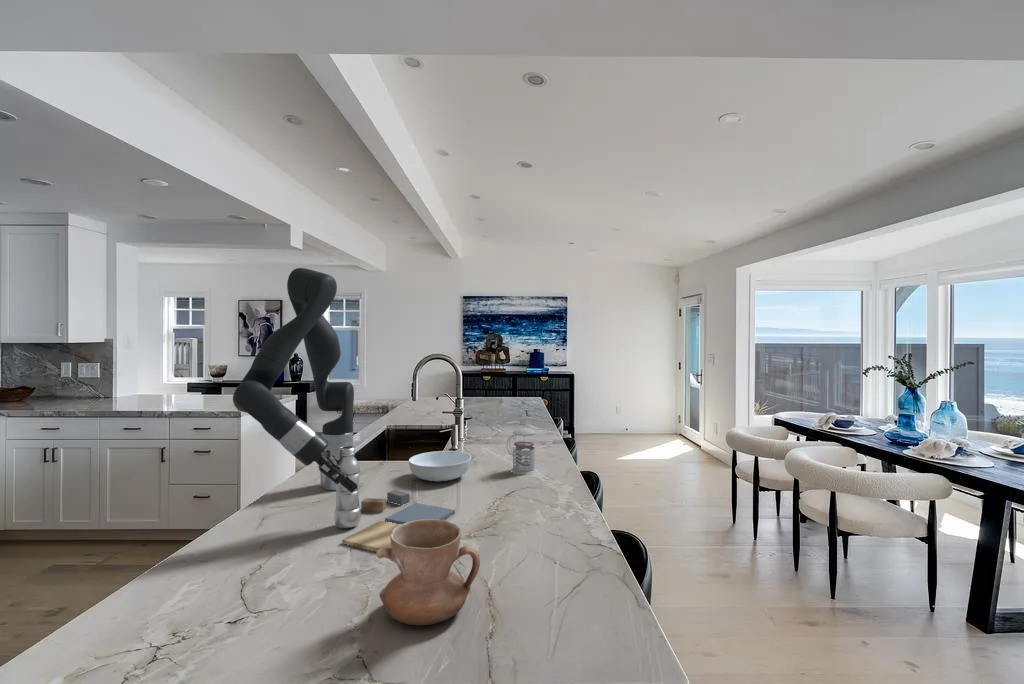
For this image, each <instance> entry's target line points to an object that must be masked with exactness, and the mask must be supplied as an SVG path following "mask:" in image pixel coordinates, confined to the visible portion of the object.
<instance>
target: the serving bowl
mask: <svg viewBox="0 0 1024 684" xmlns="http://www.w3.org/2000/svg"><path fill="white" fill-rule="evenodd" d="M471 464H472V456H471V455H470V454H469V453H467V452H464V451H463V452H462V451H456V450H438V451H430V452H429V451H428V452H422V453H419V454H415V455H413V456H411V457H410V458H409V459H408V465H409V469H410V471H411V472H412V474H413V475H414V476H416V477H417V478H418V479H420V480H424V481H429V482H433V481H434V482H435V483H442V481H444V482H449V481H452V480H455V479H458V478H460V477H462V476H463V475H465V474H466V473H467V472H468V470H469V469H470V467H471ZM448 480H449V481H448Z"/></svg>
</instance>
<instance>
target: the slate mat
mask: <svg viewBox="0 0 1024 684" xmlns="http://www.w3.org/2000/svg"><path fill="white" fill-rule="evenodd" d="M454 513H455V514H456V509H451V508H446V507H441V506H440V507H439V506H435V505H430V504H424V503H417V502H415V503H413V504H410V505H409V506H407V507H405V508H403V509H401V510H398V511H397V512H394V513H393V514H390V515H389V516H387V517H385V518H384V522H385V521H387V522H392V523H396V524H404V523H407V522H411V521H416V520H422V519H438V520H444V519H445V518H447V517H448V518H450V517H451V516H450V515H452V514H453V515H455V514H454ZM453 515H452V516H453ZM449 516H450V517H449ZM448 518H447V519H448ZM445 520H446V519H445ZM445 520H444V521H445Z"/></svg>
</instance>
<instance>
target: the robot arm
mask: <svg viewBox="0 0 1024 684" xmlns="http://www.w3.org/2000/svg"><path fill="white" fill-rule="evenodd" d="M337 285H338V284H337V281H336V279H335V278H334V276H331V275H330V274H328V273H324V272H321V271H316V270H315V269H314V270H313V269H311V268H310V269H309V268H305V267H299V268H298V267H297V268H295V269H293V270H292V271H291V272H290V273H289V275H288V278H287V285H286V287H287V288H286V289H287V295H288V298H289V300H290V303H291V306H292V308H293V311H294V313H295V317H294V318H293V319H291V320H290V321H288V322H287V323H286V324H284V325H282V326H280V327H279V328H278V329H275V331H274V332H273V333H272V334H270V335H269V336H268V337H267V338H266V340H265V341H264V342H263V344H262V345H261V347H260V348H259V351H258V353H257V354H256V356H255V358H254V359H253V362H252V364H251V366H250V368H249V370H248V371H247V373H246V374H245V376H244V377H243V379H242V381H240V383H239V385H238V386H236V388H235V390H234V392H233V394H232V402H233V405H234V407H235V408H236V410H238V411H240V412H241V413H247V414H248V415H249V416H251V417H252V418H253V419H254V420H255V421H257V422H258V423H259V424H260V425H261V427H262V429H264V430H265V432H266V433H268V434H269V435H270V436H271V437H272V438H273V439H275V440H276V441H277V442H278V443H279V444H280V445H281V446H282V447H283V448H284V449H285V450H286V451H287V452H288V453H290V454H291V455H292V456H294V457H295V458H296V459H297V460H298V461H299V462H301V463H302V464H303V465H305V466H307V467H308V466H310V465H311V464H313V462H316V464H317V465H318V467H317V468H318V470H319V472H320V487H321V488H322V489H324V490H326V491H336V484H338V483H339V484H341V485H343V486H344V487H345V488H346V489H347V490H348V491H350V492H353V491H354V490H355V489H356V488H357V484H356V483H355V482H354V481H352V480H351V479H350V478H349V477H348V476H347V475H346V474H345V473H344V472H342V470H341V466H340V465H339V464H338V463H337V461H338V460H339V459H340V456H339V453H340V448H341V447H344V446H354V405H355V403H354V402H355V389H354V385H353V383H352V382H349V381H328V377H329V375H330V373H331V372H332V371H333V370H334V368H336V366H337V364H338V363H339V361H340V359H341V355H342V353H341V352H342V351H341V346H340V340H339V338H338V337H339V336H338V334H337V332H336V330H335V329H334V328H333V326H332V324H330V322H329V320H327V319H326V317H325V316H324V314H325V313H326V312H327V310H328V309H329V308H330V306H331V304H332V302H333V301H334V300H335V297H336V294H337V292H338V291H337V289H338V286H337ZM302 341H303V342H304V343H303V344H304V346H305V347H304V348H305V352H306V356H307V359H308V362H309V366H310V368H311V373H312V374H311V375H312V378H313V383H314V384H313V385H314V390H315V396H316V402H317V406H318V408H319V409H320V410H321V411H322V412H323V411H324V412H341V415H340V416H339V417H337V418H335V419H333V420H330V421H327V422H326V423H324V424H323V425H322V429H321V430H322V435H321V434H320V433H319V432H318V431H317V430H315V429H314V428H313V427H312V426H311V425H309V423H307V422H305V421H304V420H302V419H301V417H299V416H298V415H296V414H295V413H294V412H293V411H291V410H290V409H289V408H288V407H286V406H285V405H284V404H283V403H282V402H281V401H280V400H279V399H278V397H276V395H275V394H274V393H273V392H272V388H273V387H274V384H275V383H276V381H277V380H278V378H279V377H280V376H281V375H282V373H283V372H284V370H285V368H286V367H287V366H288V363H289V362H290V360H291V358H292V357H293V355H294V353H295V351H296V350H297V348H298V347H299V345H300V344H301V342H302ZM336 467H337V468H336ZM337 473H338V474H339V476H338V477H336V474H337Z"/></svg>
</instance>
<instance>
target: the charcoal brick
mask: <svg viewBox="0 0 1024 684" xmlns="http://www.w3.org/2000/svg"><path fill="white" fill-rule="evenodd" d="M387 501H389V502H393V503H397V504H400V505H403V504H406V503H408V502H409V503H410V493H409V492H405V491H401V490H396V489H393V490H389V491H388V492H386V502H387ZM406 505H407V504H406Z"/></svg>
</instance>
